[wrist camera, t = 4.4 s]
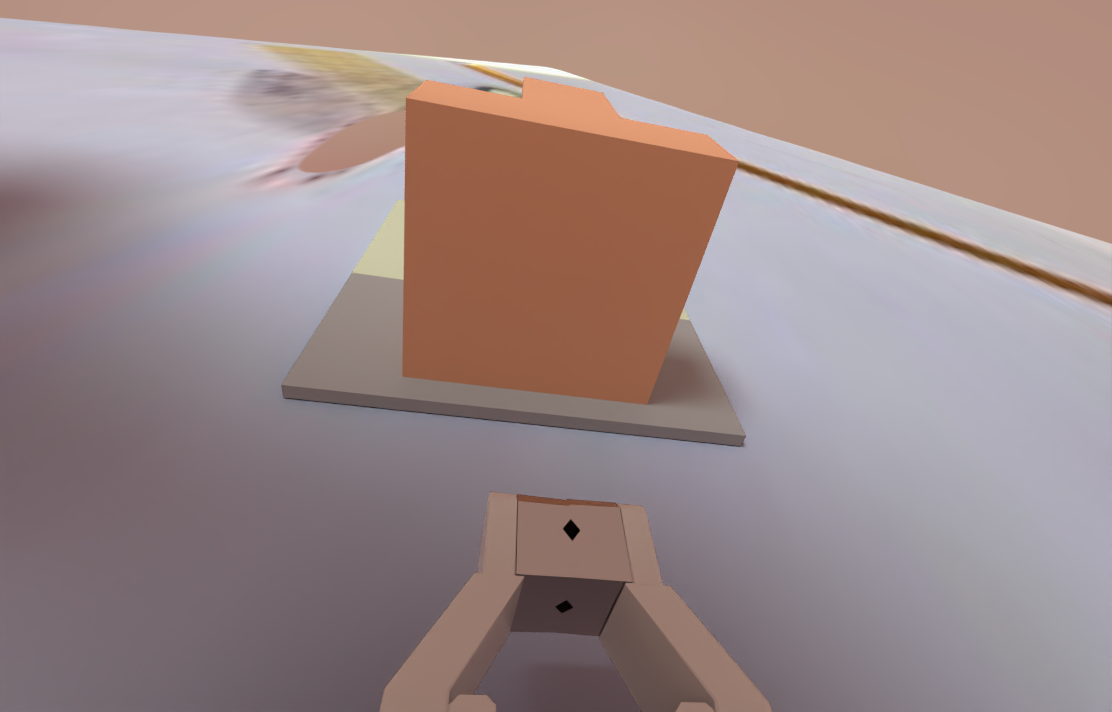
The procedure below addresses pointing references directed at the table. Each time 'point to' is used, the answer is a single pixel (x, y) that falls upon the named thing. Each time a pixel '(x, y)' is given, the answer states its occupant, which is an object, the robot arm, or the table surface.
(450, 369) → the t block
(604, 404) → the board
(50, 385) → the table surface
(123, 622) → the table surface
